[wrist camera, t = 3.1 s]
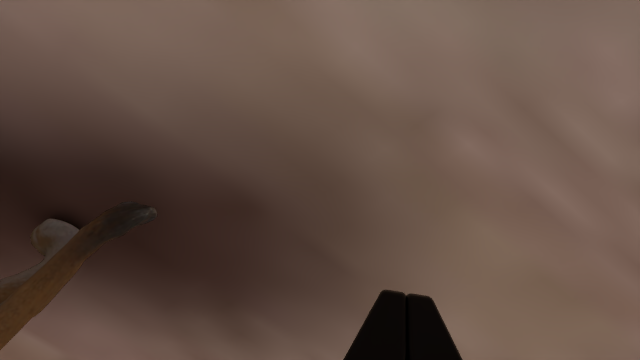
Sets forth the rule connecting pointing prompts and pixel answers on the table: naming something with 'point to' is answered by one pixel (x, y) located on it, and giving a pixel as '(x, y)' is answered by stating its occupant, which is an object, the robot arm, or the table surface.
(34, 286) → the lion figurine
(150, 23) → the table surface
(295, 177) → the table surface
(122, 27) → the table surface
